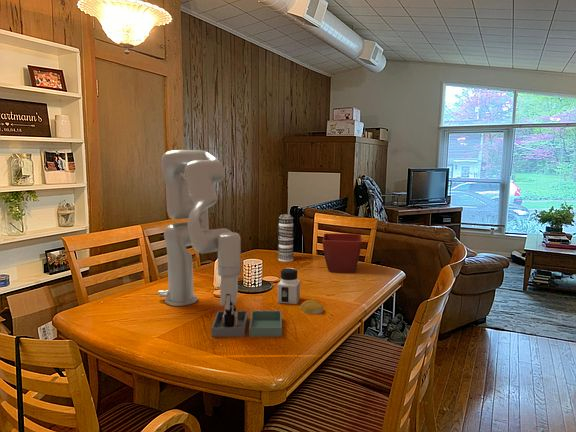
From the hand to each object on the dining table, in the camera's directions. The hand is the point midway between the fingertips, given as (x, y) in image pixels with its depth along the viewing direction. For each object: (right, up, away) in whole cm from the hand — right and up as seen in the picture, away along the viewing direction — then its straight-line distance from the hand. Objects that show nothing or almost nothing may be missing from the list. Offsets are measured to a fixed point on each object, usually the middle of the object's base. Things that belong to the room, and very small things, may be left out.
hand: (230, 321), depth 147 cm
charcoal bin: (0, -3, 0) cm, 3 cm away
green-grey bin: (+12, -3, +1) cm, 12 cm away
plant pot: (+47, +8, +75) cm, 89 cm away
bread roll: (+28, -1, +17) cm, 33 cm away
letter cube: (0, -2, 0) cm, 2 cm away
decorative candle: (+18, +11, +94) cm, 96 cm away
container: (+20, +1, +29) cm, 35 cm away
